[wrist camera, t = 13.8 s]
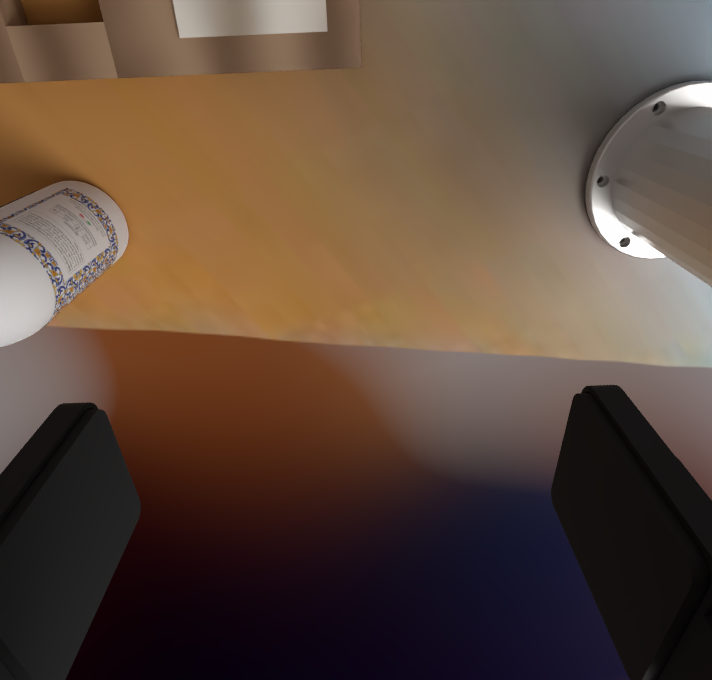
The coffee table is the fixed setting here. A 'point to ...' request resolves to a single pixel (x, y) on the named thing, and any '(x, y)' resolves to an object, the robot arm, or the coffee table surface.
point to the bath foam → (54, 252)
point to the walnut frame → (182, 39)
